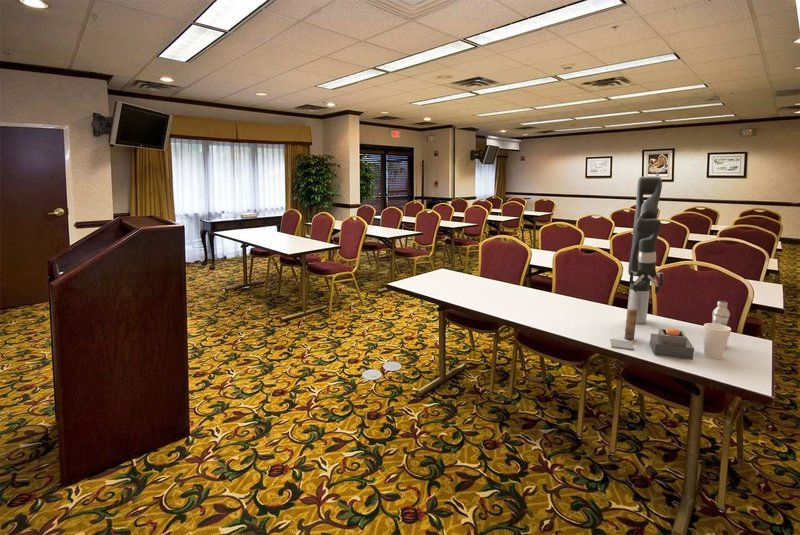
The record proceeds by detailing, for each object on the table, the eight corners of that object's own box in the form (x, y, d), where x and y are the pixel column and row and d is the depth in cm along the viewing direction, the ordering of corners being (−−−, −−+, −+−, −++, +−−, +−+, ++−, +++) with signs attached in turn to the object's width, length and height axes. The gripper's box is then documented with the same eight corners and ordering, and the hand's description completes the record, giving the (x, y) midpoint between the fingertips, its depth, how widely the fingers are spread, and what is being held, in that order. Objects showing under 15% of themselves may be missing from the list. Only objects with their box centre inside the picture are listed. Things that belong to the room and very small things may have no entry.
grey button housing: (649, 343, 203) (651, 326, 201) (685, 347, 198) (687, 329, 196) (654, 355, 190) (656, 336, 188) (692, 359, 185) (695, 340, 183)
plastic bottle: (721, 342, 204) (727, 300, 200) (727, 347, 198) (734, 304, 194) (705, 341, 206) (711, 299, 202) (711, 346, 199) (717, 303, 195)
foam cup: (701, 349, 195) (705, 321, 193) (727, 355, 190) (731, 326, 187) (698, 356, 188) (702, 327, 185) (725, 362, 182) (730, 332, 180)
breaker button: (664, 333, 195) (665, 327, 195) (677, 334, 194) (678, 328, 193) (666, 336, 191) (667, 331, 190) (680, 338, 189) (680, 332, 188)
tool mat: (610, 339, 208) (610, 338, 207) (631, 342, 204) (631, 341, 204) (611, 347, 198) (611, 346, 198) (634, 350, 195) (634, 348, 195)
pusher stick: (624, 336, 212) (627, 308, 209) (633, 337, 210) (636, 309, 207) (624, 339, 208) (627, 310, 205) (634, 340, 207) (637, 311, 204)
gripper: (664, 259, 211) (663, 291, 215) (631, 257, 219) (630, 289, 223) (663, 263, 205) (662, 296, 209) (629, 261, 213) (628, 293, 217)
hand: (645, 292), depth 216 cm, fingers open, 8 cm apart
